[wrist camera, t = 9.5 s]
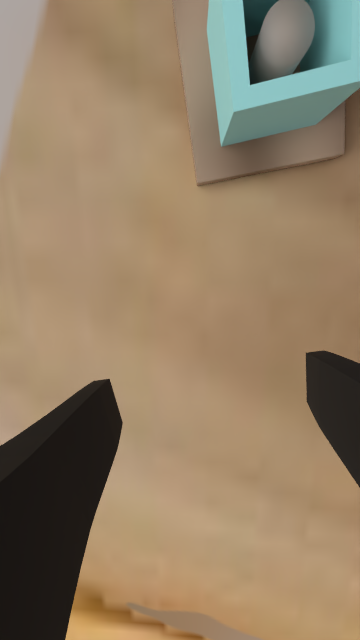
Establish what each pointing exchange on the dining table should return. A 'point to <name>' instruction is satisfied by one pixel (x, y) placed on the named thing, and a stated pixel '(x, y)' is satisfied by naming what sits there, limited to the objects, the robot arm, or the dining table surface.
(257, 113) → the teal hollow block
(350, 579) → the dining table surface
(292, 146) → the pin plate
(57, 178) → the dining table surface
